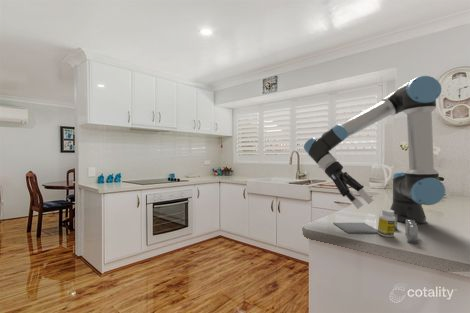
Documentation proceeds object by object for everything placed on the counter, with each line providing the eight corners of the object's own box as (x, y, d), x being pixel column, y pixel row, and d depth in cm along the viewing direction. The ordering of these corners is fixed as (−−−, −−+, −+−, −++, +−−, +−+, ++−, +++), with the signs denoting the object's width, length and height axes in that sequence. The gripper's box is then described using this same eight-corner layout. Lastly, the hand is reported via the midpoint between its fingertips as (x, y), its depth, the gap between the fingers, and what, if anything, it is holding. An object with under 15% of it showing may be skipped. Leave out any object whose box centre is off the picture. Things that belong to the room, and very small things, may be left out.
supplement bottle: (387, 238, 95) (390, 213, 93) (374, 232, 99) (376, 208, 98) (397, 236, 97) (399, 211, 96) (383, 230, 102) (386, 207, 100)
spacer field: (395, 227, 109) (395, 213, 108) (432, 243, 89) (432, 227, 89) (377, 227, 108) (378, 213, 108) (411, 244, 89) (411, 227, 88)
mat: (363, 223, 114) (363, 222, 114) (382, 233, 100) (382, 232, 100) (333, 223, 114) (333, 222, 114) (348, 233, 100) (348, 232, 100)
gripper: (335, 170, 123) (368, 205, 113) (312, 173, 105) (348, 214, 95) (347, 160, 120) (381, 195, 109) (324, 160, 102) (363, 203, 91)
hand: (366, 204), depth 102 cm, fingers open, 13 cm apart
